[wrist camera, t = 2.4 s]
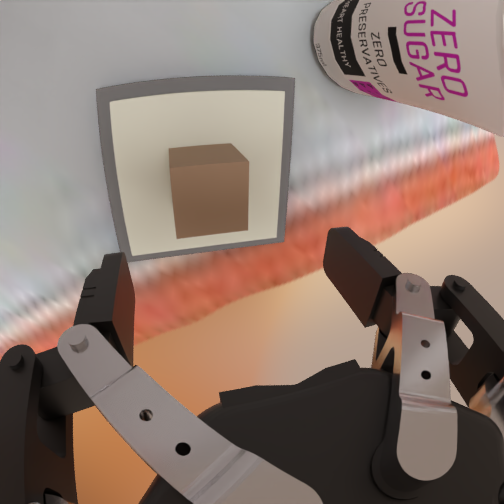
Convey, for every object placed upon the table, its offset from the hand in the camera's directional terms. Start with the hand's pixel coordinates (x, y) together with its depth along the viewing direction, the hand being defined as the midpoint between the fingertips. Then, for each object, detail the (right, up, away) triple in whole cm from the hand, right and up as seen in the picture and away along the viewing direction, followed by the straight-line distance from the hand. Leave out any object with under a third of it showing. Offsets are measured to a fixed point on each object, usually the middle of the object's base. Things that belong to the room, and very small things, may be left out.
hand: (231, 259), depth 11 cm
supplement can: (+9, +16, +7) cm, 20 cm away
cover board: (-3, +6, +8) cm, 10 cm away
